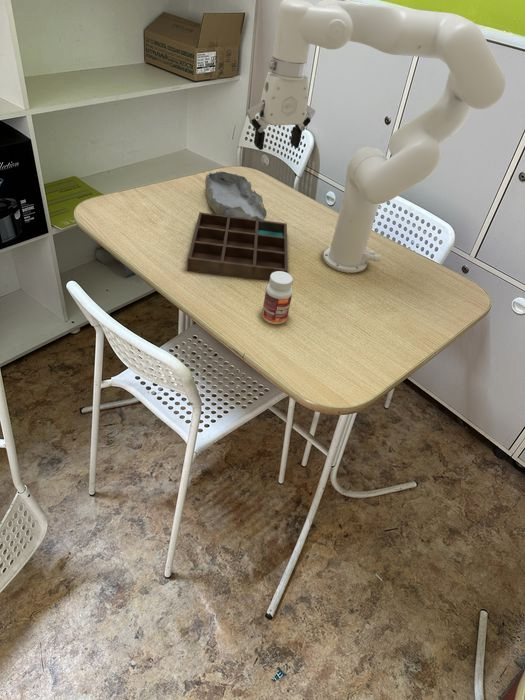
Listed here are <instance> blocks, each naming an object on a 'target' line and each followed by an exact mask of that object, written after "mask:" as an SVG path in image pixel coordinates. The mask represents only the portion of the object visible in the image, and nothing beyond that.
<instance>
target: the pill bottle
mask: <svg viewBox="0 0 525 700" xmlns="http://www.w3.org/2000/svg"><path fill="white" fill-rule="evenodd" d="M292 285H293V276H292V275H291V274H290V273H286V272H283V271H276V272H273V273H272V274H271V276H270V281H268V283H267V285H266V288H265V291H264V292H265V293H264V299H263V305H262V310H261V311H262V312H261V316H262V318H263V319H264V321H265V322H267V323H269V324H271V325H281V324H283V323H285V322H286V321H287V319H288V317H289V311H290V307H291V301H292V297H293V288H292Z"/></svg>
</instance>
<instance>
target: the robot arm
mask: <svg viewBox="0 0 525 700" xmlns="http://www.w3.org/2000/svg"><path fill="white" fill-rule="evenodd" d="M276 18H277V19H276V27H275V35H274V42H273V51H272V57H271V60H269V61H266V64H265V67H266V69H268V70H269V71H268V72H267V75H266V77H265V80H264V84H263V88H262V93H261V97H260V102H258V103H256V104H255V105H253V106H251V107H250V108H248V109H247V110H246V115H247V117H248V119H249V123H250V124H251V125H252V127H253V128H254V130H255V131H254V139H253V144H254V146H255V147H256V148H257V149H258V150H259V151H262V150H264V147H265V138H266V133H265V132H264V131H265V130H266V128H267V127H268V126H269V125H270V126H292V128H291V129H292V130H291V135H290V141H289V143H290V145H292V146H293V147H294V148H295V149H299V148H300V143H301V140H302V135H303V132H304V131H305V130H306V127H307V126H308V125H309V124H310V123H311V120H312V119H313V117H314V116H315V114H316V110H315V109H314V108H312V107H311V106H310V105H308V96H309V79H308V76H307V75H306V70H307V64H308V59H309V58H308V57H309V54H310V53H309V52H310V47H311V45H313V46H317V47H319V48H323V49H327V50H339V49H341V48H343V47H344V46H346V45H347V44H348V43H349V42H353V43H358V44H363V45H365V46H368V47H371V48H373V49H375V50H377V51H379V52H381V53H384V54H388V55H392V56H403V57H418V58H424V59H425V58H427V59H436V60H440V61H441V62H443V63H444V64H446V66H447V67H448V69H449V72H448V75H447V80H446V84H445V87H444V90H443V92H442V94H441V96H440V97H439V99H438V100H437V101H436V102H435V103H434V104H433V105H432V106H430V107H429V108H428V109H426V110H425V111H423V112H422V113H420V114H419V115H417V116H416V117H414V118H413V119H412V120H410V121H409V122H407V123H405V124H404V125H402V126H401V127H399V128H398V129H396V130H395V131H394V132H393V133H392V135H391V136H390V137H389V140H388V150H389V153H390V155H391V157H389V158H388V157H386V155H385V154H384V152H383V151H381V150H380V149H378V148H376V147H373V146H363V147H362V148H359V149H357V150H356V151H355V152H354V153H353V155H352V156H351V158H350V159H349V161H348V165H347V169H346V176H345V183H344V184H345V185H344V191H343V195H342V200H341V204H340V209H339V212H338V216H337V220H336V224H335V228H334V233H333V237H332V241H331V245H330V247H328V248H326V249H325V250H324V251H323V255H322V259H323V261H324V263H325V264H326V265H327V266H328V267H330V268H332V269H334V270H335V271H338V272H342V273H348V274H352V273H353V274H354V273H360V272H362V271H364V270H365V269H366V268H367V265H368V262H370V261H371V262H376V263H380V262H381V259H382V257H381V255H380V254H376V251H375V250H368V249H367V246H368V243H369V239H370V236H371V232H372V229H373V226H374V222H375V219H376V216H377V212H378V209H379V206H380V205H381V204H385V203H387V202H390V201H391V200H393V199H395V198H397V197H398V196H401V195H402V194H404V193H405V192H407V191H409V190H410V189H411V188H413V187H415V186H416V185H418V184H420V183H421V182H422V181H424V180H425V179H427V178H428V177H430V176H431V175H432V174H433V173H434V172H435V171H436V170H437V167H438V166H439V164H440V162H441V160H442V148H441V145H442V144H443V143H444V142H446V141H447V140H449V139H450V138H451V137H453V136H454V135H455V134H457V133H458V131H460V130H461V129H462V127H463V126H464V125H465V123H466V122H467V120H468V117H469V116H470V113H471V111H472V108H473V109H474V110H486V109H489V108H492V107H494V105H496V104H497V103H498V102H499V101H500V100H501V98H502V97H503V94H504V92H505V89H506V78H505V74H504V71H503V69H502V68H501V66H500V64H499V62H498V60H497V58H496V56H495V54H494V52H493V51H492V48H491V47H490V45H489V42H488V41H487V39H486V37H485V35H484V33H483V32H482V30H481V28H480V27H479V26H478V24H476V23H475V22H474V21H472V20H470V19H467V18H465V17H464V16H461V15H459V14H456V13H453V12H442V11H434V10H423V9H414V8H413V9H412V8H404V7H398V6H397V7H396V6H390V5H380V4H379V5H378V4H371V3H365V2H358V1H352V0H351V1H350V0H320V1H318V2H316V3H315V4H312V3H311V2H309V1H307V0H281V2H280V3H279V6H278V11H277V17H276ZM257 114H258V115H259V117H258V119H257V118H256V117H257V116H256V115H257Z"/></svg>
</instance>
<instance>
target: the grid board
mask: <svg viewBox="0 0 525 700" xmlns="http://www.w3.org/2000/svg"><path fill="white" fill-rule="evenodd" d="M197 216H198V217H197V220H196V224H195V228H194V232H193V235H192V240H191V244H190V247H189V251H188V256H187V265H186V266H187V267H186V271H187V272H193V273H194V272H195V273H201V274H209V275H217V276H226V277H232V278H233V277H235V278H240V279H241V278H242V279H250V280H258V281H268V282H269V281H270V276H271V274H272V273H273V272H276V271H283V272H286V273H288V272H289V262H288V261H289V259H288V258H289V257H288V255H289V254H288V223H285V222H278V221H270V220H265V219H264V220H256V219H248V218H241V217H233V216H225V215H217V214H216V213H209V212H203V211H202V212H201V211H199V213H198V215H197ZM288 274H289V273H288Z"/></svg>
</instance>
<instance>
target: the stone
mask: <svg viewBox="0 0 525 700" xmlns="http://www.w3.org/2000/svg"><path fill="white" fill-rule="evenodd" d="M204 183H205V185H204V186H205V192H206V200H207V202H208V205H209V206H210V208H211V209H212V210H213V212H214V213H215V214H217V215H225V216H233V217H241V218H248V219H256V220H264V221H265V219H266V217H267V210H266V209H267V208H265V204H264V203H263V200H264V199H263V196H262V195H260V194H259V193H257V192H256V190H253V189H252V182H250V181H248V179H247V178H246V177H245V176H243V175H239V174H237V173H232V172H231V173H230V172H226V171H223V170H219V171H216V172H213V173H212V172H210V171H209V172H208V173H207V174H206V175H205V181H204Z"/></svg>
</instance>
